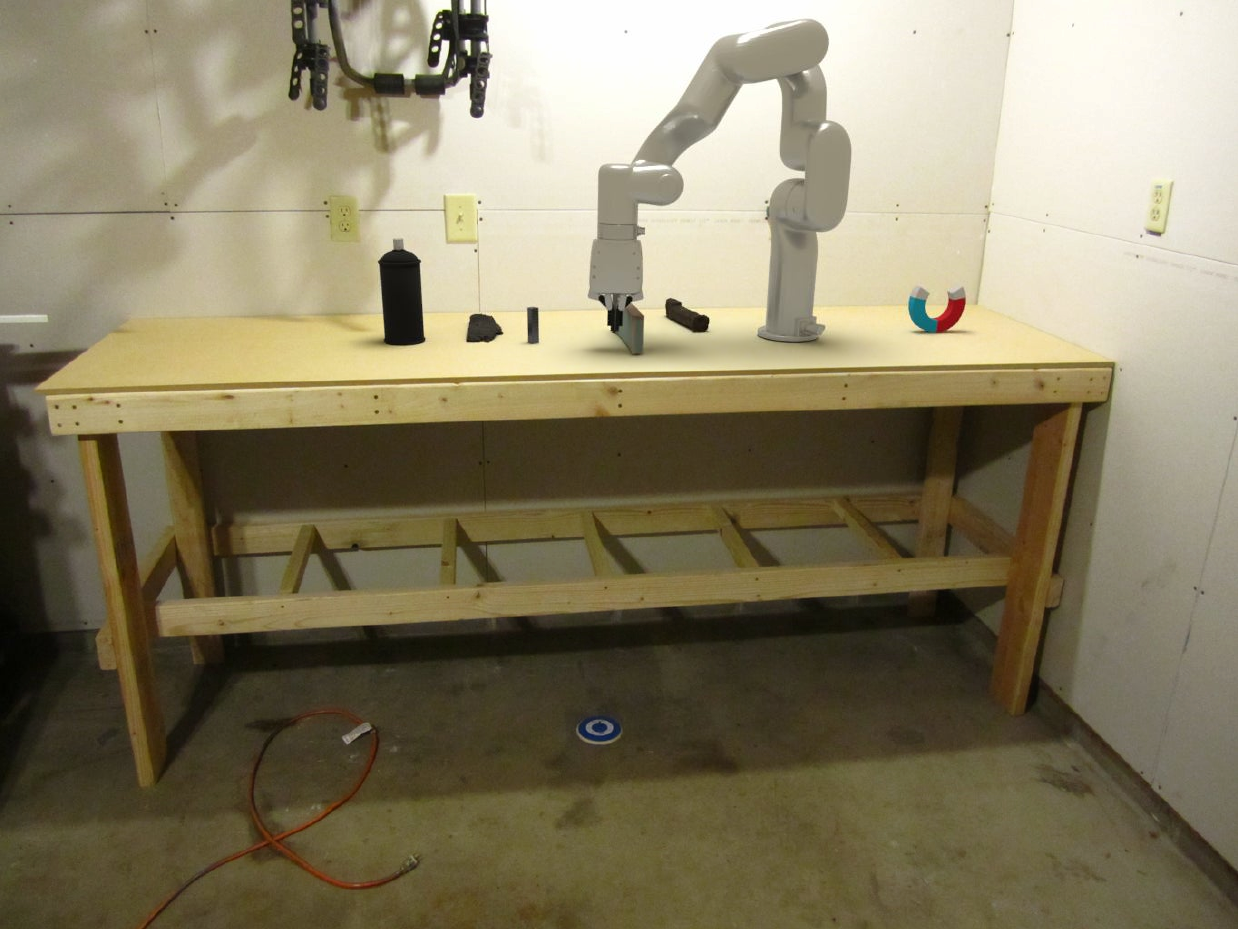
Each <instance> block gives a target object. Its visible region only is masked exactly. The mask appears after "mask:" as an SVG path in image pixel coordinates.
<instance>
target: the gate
mask: <svg viewBox="0 0 1238 929" xmlns="http://www.w3.org/2000/svg"><path fill="white" fill-rule="evenodd" d="M619 300H620V298H617V302H616V309H617V305H618V304H619ZM644 328H645V315H644V314H643V313H642V312H641V311H640V310H639V309H638V308H637V307H636V306H635V305H634V304H633V302H631V303H630V304H629V305H628V306H627V307H626V308H625V309H624V310H623V326H619V331H616V333H615V334H618V336H620V338H621V339H622V341H624V343H625V344H626V345H627V346H628V348H629V349H630V351H631V353H632V354H644V340H645V338H644V335H645V334H644V333H645V329H644Z"/></svg>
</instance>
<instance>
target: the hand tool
mask: <svg viewBox="0 0 1238 929" xmlns="http://www.w3.org/2000/svg"><path fill="white" fill-rule="evenodd" d="M664 308H665V316H666V318H667V317H668V318H667V319H668V320H670V321H671V322H672V321H675V322H678V323H681V324H683V325H685V326H686V327H688V328H690V329H691V330H692V332H693V333H705V332H707V331H708V330H709V327H710V325H709V324H710V322H711V321H710V317H709V316H708V315H706V314H700V313H699V312H697V311H692V310H691V309H689V308H686V307H685V306H684V305H683V302H681V301H679V300H677V298H676V299H675V298H672V297H669V298H667V299H665V304H664Z"/></svg>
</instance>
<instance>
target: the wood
mask: <svg viewBox="0 0 1238 929" xmlns="http://www.w3.org/2000/svg"><path fill="white" fill-rule="evenodd" d="M468 319H469V322H468V327H467V331H466V332H467V333H466V342H467V343H481V342H484V343H489V342H492V341H493V340H494V339H495V338H496V335H503V334H504V331H503V329H502V327H501V326H500V325H499V324H498V323H497V322H496V320H495V318H494V317H493V316H492V315H487V314H485V313H484V314H483V313H482V312H481V313H472V314H471V315H469V317H468Z"/></svg>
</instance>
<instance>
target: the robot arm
mask: <svg viewBox="0 0 1238 929" xmlns="http://www.w3.org/2000/svg"><path fill="white" fill-rule="evenodd" d="M829 45H830V40H829V34H828V32H827V30H826V28H825V26H824V25H823V24H822V23H820V22H819V21H818V20H816V19H813V18H801V19H795V20H787V21H780V22H775V23H772V24H769V25H768V26H766V27H764V28H763V29H761V30H754V31H749V32H748V31H747V32H741V33H735V34H730V35H725V36H722V37H721V38H719V39H718V40H716V41H715V43H714V44H713V45H712V46H711V48H709V50H708V52H707V54H706V55H705V56H704V59H703V61H702V62H701V64H700V65H699V67H698V69H697V70H696V72H695V74H694V76H693V78H692V79H691V81H690V83H689V84H688V86H687V87H686V89H685V90H684V92H683V94H682V96H681V98H679V100H678V101H677V103H676V104H675V106H674V107H673V108H672V109H671V110H670V111H669V112H668V113H667V114H666V115H665V117H664V118H663V119H662V120H661V121H660V122H659V123H658V124H657V125H656V126H655V128H654V129H653V130H652V131H651V132H650V134H649V135H648V136H647V137H646V139H645V140H644V142H643V143H642V145H641V146H640V148H639V150H638V151H637V153H636V154H635V156H634V158H633V159H632V162H630V163H604V164H602V165H601V166H600V167H599V169H598V172H597V182H598V183H597V217H596V218H597V225H596V227H597V228H596V230H597V232H596V238H595V239H593V241H592V245H591V251H590V260H589V274H588V275H589V278H588V280H589V282H588V283H589V285H588V286H589V289H588V293H587V298H588V299H590V300H594V301H597V302H600V303H601V305H602V306H603V307H604V308H605V309H606V311H607V318H606V319H607V320H606V321H607V324H606V325H607V326H606V327H610V332H612V331H614V329H615V331H619V326H623V310H624V309H625V308H626V307H627V306H628V305H629V304H630V303H633V302H639V301H643V300H644V296H645V295H644V293H643V282H644V263H643V262H644V258H643V246H642V241H641V240H639V239H638V237H640V236H641V235H645V234H646V227H642V226H640V225H639V224H638V221H639V220H638V219H639V217H638V216H639V205H640V204H642V205H643V204H644V205H651V206H658V207H665V206H671V204H674V203H675V202H677V200H678V199H680V197H681V196H682V194H683V192H684V186H685V183H684V178H683V176H682V175H681V172H679V170H678V169H676V167H674V166H673V165H674V164H675V162H676V161H677V160H678V159H679V158H680V156H681V155H682V154H684V153H685V151H687V150H688V149H689V148H690V147H692V146H694V145H696V143H698V142H700V141H702V140H703V139H705V138H707V137H709V135H711V134H712V133H713V132H714V131H715V130H717V128H718V126H719V125H720V123H721V121H722V120H723V118H724V116H725V115H726V113H727V112H728V109H729V108H730V106H731V105H732V103H733V101H734V100H735V99H736V97H737V95H738V93H739V91H740V90H741V88H742V87H743V85H748V84H749V85H750V84H753V85H754V84H759V83H763V82H768V81H773V80H776V81H777V83H778V85H779V88H780V93H781V122H780V135H779V157H780V161H781V163H782V164H783V165H784V166H785V167H786V168H788V169H790V170H792V171H798V172H804V177H803V178H799V177H793V178H792V177H791V178H789V179H786V180H784V181H782V182H780V183H779V184H777V186H775V188H774V190H773V191H772V193H771V196H770V198H769V202H768V204H769V206H768V211H769V212H768V214H769V222H770V258H769V270H768V283H767V298H766V310H765V312H766V314H765V325H763V326H760V327H758V328H757V335H758V336H759V337H761V338H764V339H766V340H771V341H779V342H789V343H790V342H793V343H794V342H795V343H796V342H797V343H798V342H799V343H800V342H810V341H814V340H816V339H818V338H819V336H821V335H822V334H823V332H825V330H826V325H825V324H822V323H817V318H818V317H817V316H815V315H813V314H814V303H815V291H816V281H817V279H816V278H817V268H818V258H819V241H818V236H817V233H827V232H830V231H833V230H834V229H836V228H837V227H838V226H839V225H840V223H841V222H842V220H843V219H844V217H845V214H846V210H847V206H848V198H849V189H850V188H849V186H850V180H851V179H850V178H851V177H850V176H851V165H852V152H853V151H852V144H851V139H850V137H849V134H848V132H847V130H846V129H845V127H843V125H841V123H839V122H836V121H833V120H828V119H827V101H828V100H827V98H828V89H827V88H828V87H827V82H826V78H825V75H824V73H823V71H822V68H821V66H820V63H822V62H823V60H824V59H825V57H826V55H827V54H828V51H829ZM612 294H619V295H620V300H619V304H618V305H617V309H616V316H615V309H614V305H613V304H612Z"/></svg>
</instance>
